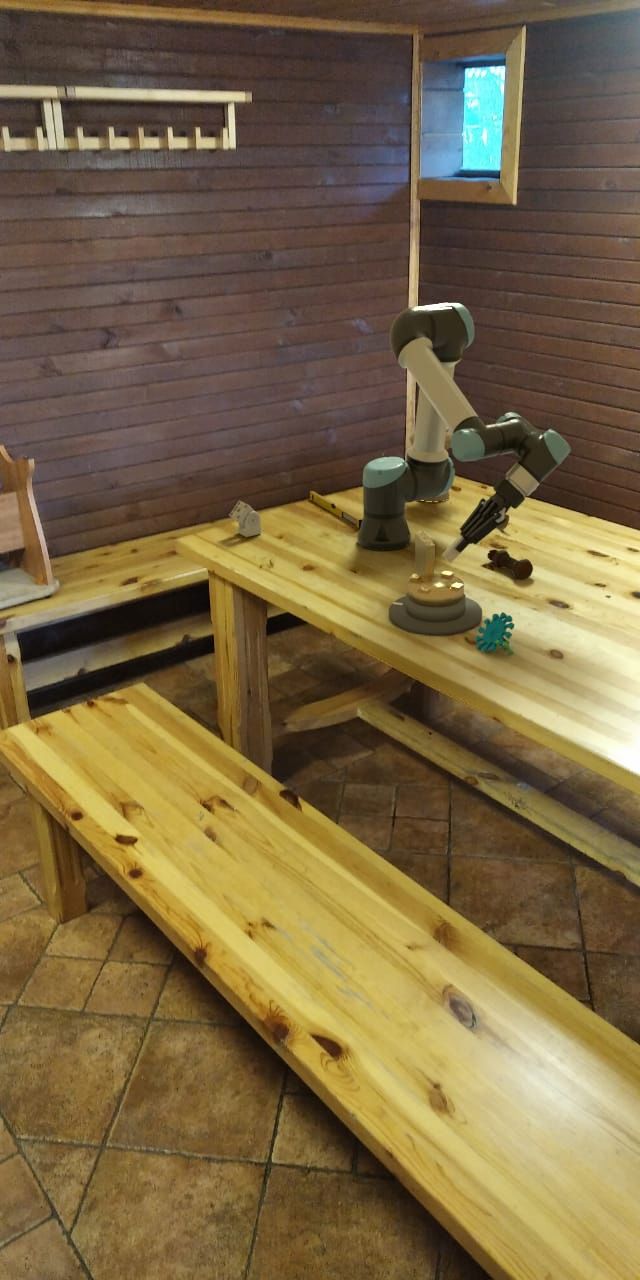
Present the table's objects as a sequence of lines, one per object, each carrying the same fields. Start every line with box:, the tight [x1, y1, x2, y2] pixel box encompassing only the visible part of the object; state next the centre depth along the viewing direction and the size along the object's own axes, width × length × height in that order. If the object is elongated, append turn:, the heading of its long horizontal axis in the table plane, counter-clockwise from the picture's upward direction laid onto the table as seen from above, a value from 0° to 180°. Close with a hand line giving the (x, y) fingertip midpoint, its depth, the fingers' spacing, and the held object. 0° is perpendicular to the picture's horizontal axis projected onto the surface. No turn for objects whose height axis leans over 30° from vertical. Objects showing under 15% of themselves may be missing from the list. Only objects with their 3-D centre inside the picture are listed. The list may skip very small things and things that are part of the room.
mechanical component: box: [228, 500, 262, 538], centre depth 286 cm, size 5×8×10 cm
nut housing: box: [388, 592, 483, 637], centre depth 232 cm, size 22×22×5 cm
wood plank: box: [487, 513, 510, 533], centre depth 289 cm, size 15×2×5 cm, turn 22°
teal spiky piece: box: [474, 612, 515, 655], centre depth 216 cm, size 11×6×10 cm
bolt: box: [486, 549, 534, 581], centre depth 257 cm, size 6×5×15 cm
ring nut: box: [407, 530, 465, 607], centre depth 232 cm, size 22×13×11 cm, turn 10°
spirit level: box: [308, 490, 363, 529], centre depth 303 cm, size 33×1×3 cm, turn 27°
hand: (446, 558), depth 239 cm, fingers closed
